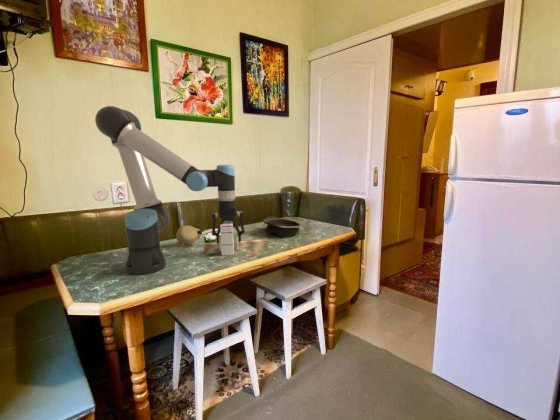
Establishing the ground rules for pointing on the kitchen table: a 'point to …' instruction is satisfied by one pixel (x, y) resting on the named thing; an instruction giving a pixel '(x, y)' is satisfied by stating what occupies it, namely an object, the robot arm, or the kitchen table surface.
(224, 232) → the syrup box
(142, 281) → the kitchen table surface
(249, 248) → the maple fence
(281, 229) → the stone bowl
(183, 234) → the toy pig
